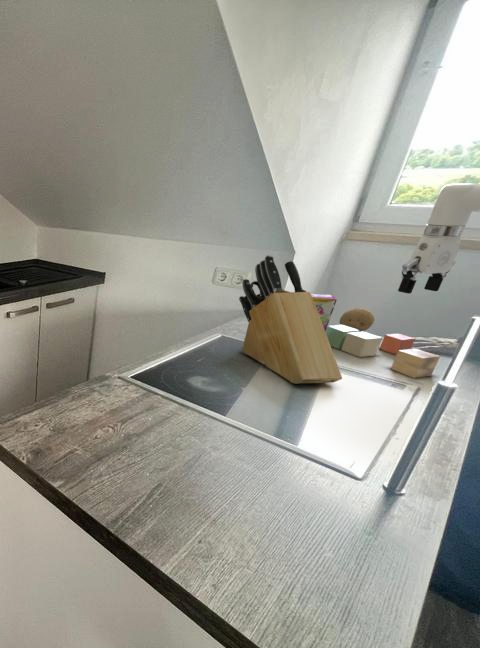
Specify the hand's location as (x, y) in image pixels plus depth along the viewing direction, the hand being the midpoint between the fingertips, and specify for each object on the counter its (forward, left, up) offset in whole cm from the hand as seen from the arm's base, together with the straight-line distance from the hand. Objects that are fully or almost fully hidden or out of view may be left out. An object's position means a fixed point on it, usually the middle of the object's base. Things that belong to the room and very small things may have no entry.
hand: (417, 291), depth 116 cm
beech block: (+10, +13, -20) cm, 26 cm away
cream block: (+10, -2, -20) cm, 22 cm away
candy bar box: (+19, -15, -20) cm, 31 cm away
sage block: (+10, -9, -20) cm, 24 cm away
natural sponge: (-3, -16, -20) cm, 26 cm away
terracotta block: (-2, -1, -20) cm, 20 cm away
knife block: (+41, -2, -20) cm, 46 cm away
